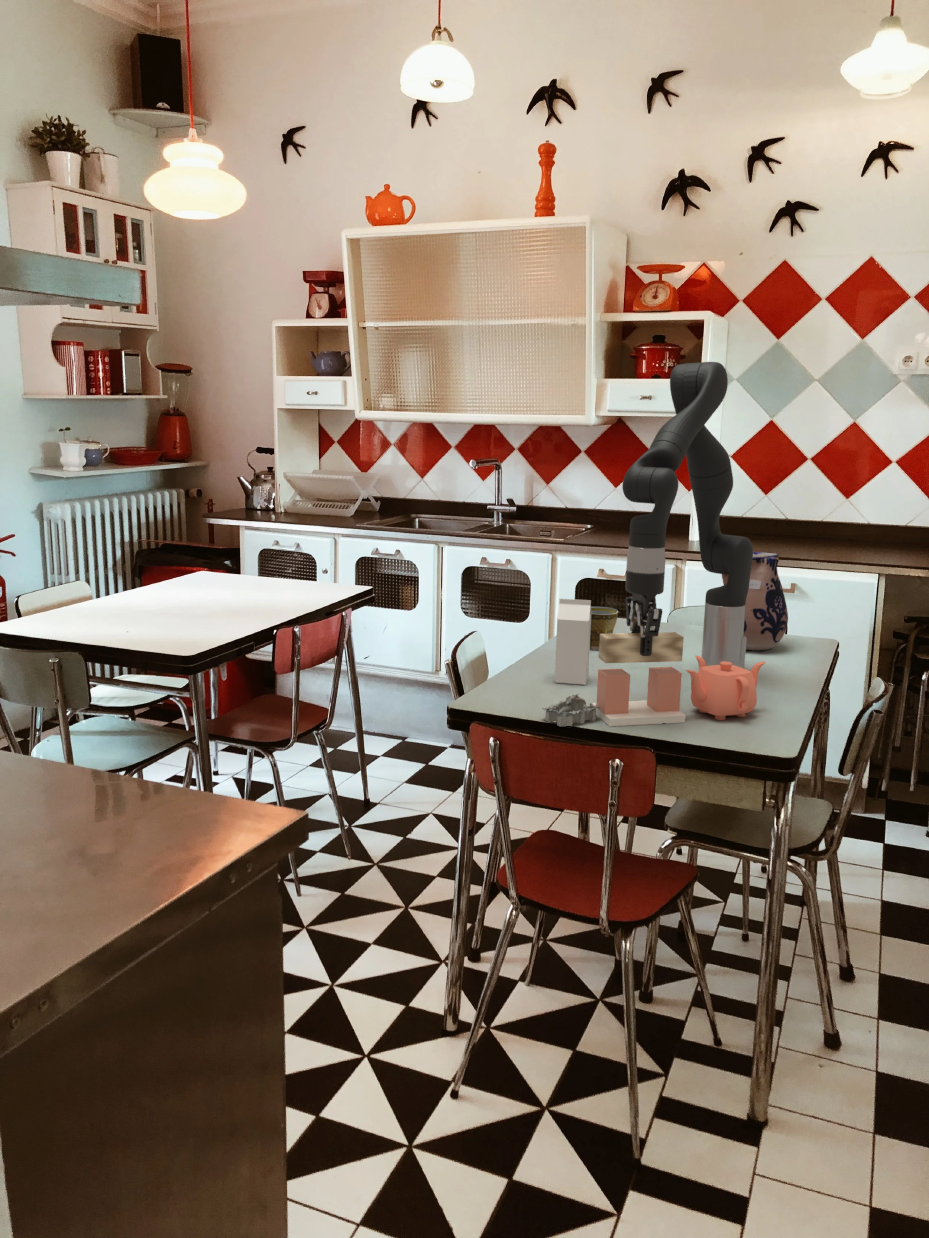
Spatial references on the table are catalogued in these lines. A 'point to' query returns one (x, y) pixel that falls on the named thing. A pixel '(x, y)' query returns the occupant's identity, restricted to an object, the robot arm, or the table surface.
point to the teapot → (724, 689)
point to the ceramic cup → (601, 624)
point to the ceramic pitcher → (764, 604)
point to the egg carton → (571, 711)
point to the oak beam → (628, 648)
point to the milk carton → (573, 641)
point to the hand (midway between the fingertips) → (640, 652)
